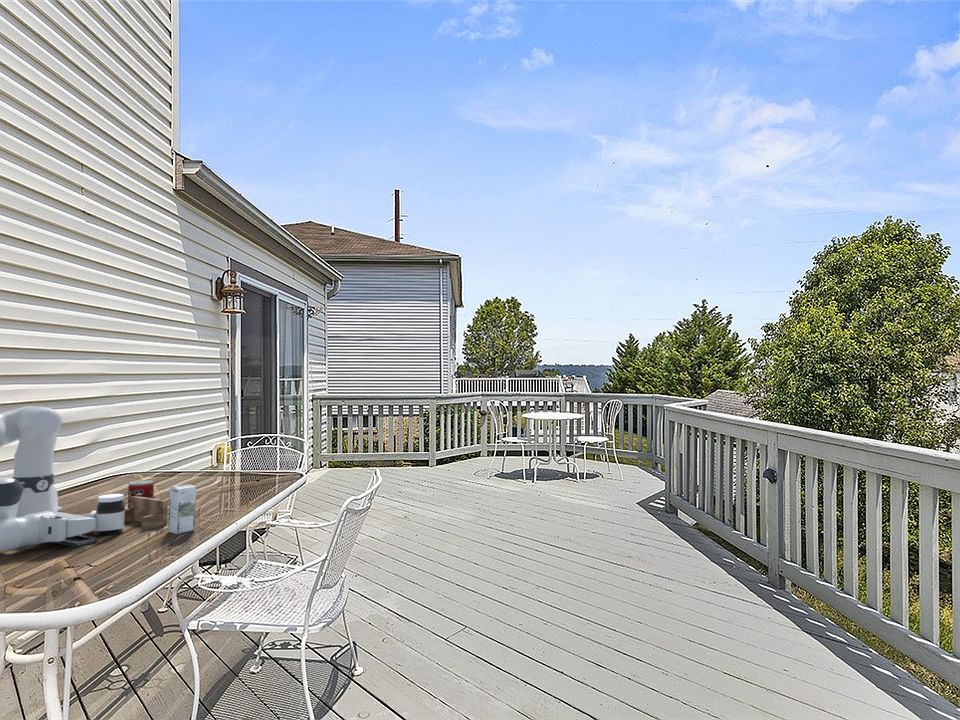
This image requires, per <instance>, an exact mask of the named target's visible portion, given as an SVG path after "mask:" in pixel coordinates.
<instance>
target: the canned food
mask: <svg viewBox="0 0 960 720" xmlns="http://www.w3.org/2000/svg"><path fill="white" fill-rule="evenodd" d="M154 489H155V485H154V480H150V479H149V480H148V479H147V480H145V479H143V480H134V481H131V482H128V490H127V492H128V493H127V494H128V495H127V498H128V499H127V501H128V502H127V509H130V504H131V497H132V496H138V497H146V498H153V499H154V492H155V491H154Z"/></svg>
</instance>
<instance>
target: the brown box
mask: <svg viewBox="0 0 960 720" xmlns="http://www.w3.org/2000/svg"><path fill="white" fill-rule="evenodd" d="M168 502H169V501H168V499H167V500H166V499H159V498H154V497H153V498H146V497H138V496H132V497H131V504H130V509H128V508H126V509H125V517H124V523H128V522H131V521H132V522H141V527H140V530H142V531H146V530H150V529H153V528H154V529H155V528H158V527H163V526H166V525H168V506H169V505H168V504H169V503H168Z"/></svg>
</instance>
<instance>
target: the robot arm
mask: <svg viewBox="0 0 960 720" xmlns="http://www.w3.org/2000/svg"><path fill="white" fill-rule="evenodd" d="M62 425H63V418H62V416H61V415H60V414H59V412H57V411H56V410H55V409H53V408H50V407H48V406H39V405H38V406H37V405H35V406H33V405H26V406H22V407H20V408H19V407H18V408H15V409H12V410H9V411H4V412H1V413H0V448H2V447H4V446H6V445H9V444H11V443H15V442H17V441H18V444H17V449H16V451H15V453H14V455H13V456H14V457H13V458H14V459H13V476H12V477H11V476H3V475H2V476H1V475H0V553H4V552H7V551H8V552H9V551H13V550H16V549H18V548H20V547H24V546H26V547H28V546H35V545H39V544H45V543H52V542H59V541H64V540H65V538H67V537H73V536H77V535H84V534H88V533H87V532H89V533H91V532H93V531H94V530H95V515H92V514H90V513H85V514H72V513H67V512H61V510H62V506H59V501H58V489H57V487H56V486H54V483H55V474H54V473H53V471H54V470H53V468H54V454H55V448H56V443H57V440H58V435H59V431H60V430H61V427H62ZM90 531H91V532H90Z"/></svg>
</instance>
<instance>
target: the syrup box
mask: <svg viewBox="0 0 960 720" xmlns="http://www.w3.org/2000/svg"><path fill="white" fill-rule="evenodd" d="M168 499H169V501H168V502H169V503H168V504H169V505H168V526H167V527H168V533H172V534H173V535H174V534H175V535H181V534H185V533H190V532H194V531H195V528H196V527H195V525H196V522H195V521H196V501H197V500H196V499H197V487H196V486H195V485H192V484H183V485H175V486H171V487H169V498H168Z"/></svg>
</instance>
